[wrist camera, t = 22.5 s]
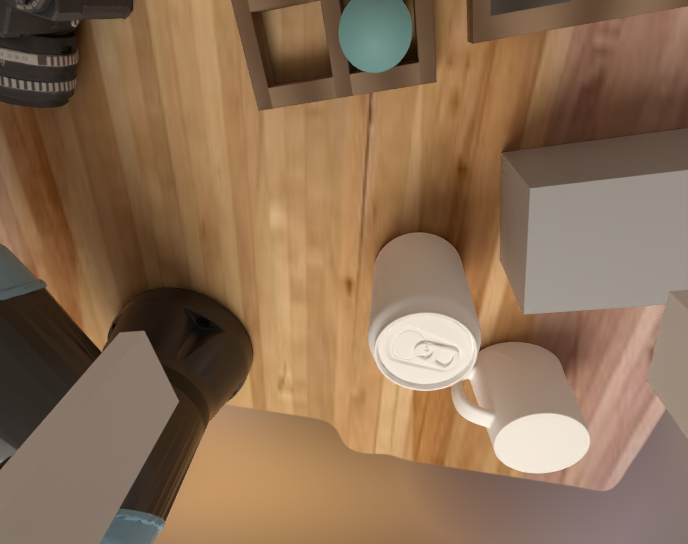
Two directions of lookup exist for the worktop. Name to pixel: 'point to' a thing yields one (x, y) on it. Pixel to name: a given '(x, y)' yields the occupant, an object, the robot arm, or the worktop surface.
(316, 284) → the worktop surface
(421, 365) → the beverage can
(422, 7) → the board
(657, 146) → the cover
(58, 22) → the camera
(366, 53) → the pin
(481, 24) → the board
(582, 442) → the mug
